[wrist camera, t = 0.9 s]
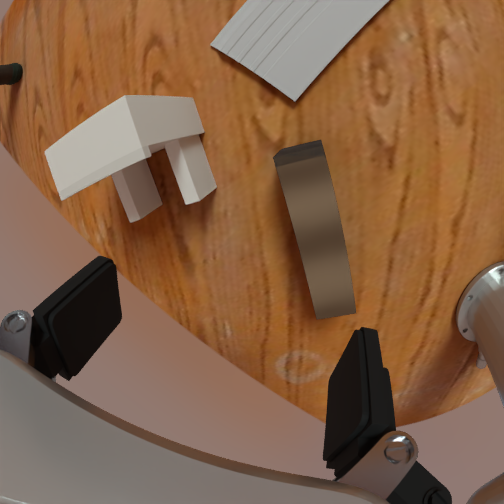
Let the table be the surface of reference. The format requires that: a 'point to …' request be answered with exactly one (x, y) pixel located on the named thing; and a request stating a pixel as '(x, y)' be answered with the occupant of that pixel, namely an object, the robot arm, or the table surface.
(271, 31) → the baseboard molding
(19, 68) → the potato masher grenade
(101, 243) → the table surface
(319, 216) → the rail
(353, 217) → the table surface
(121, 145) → the white forked bracket
